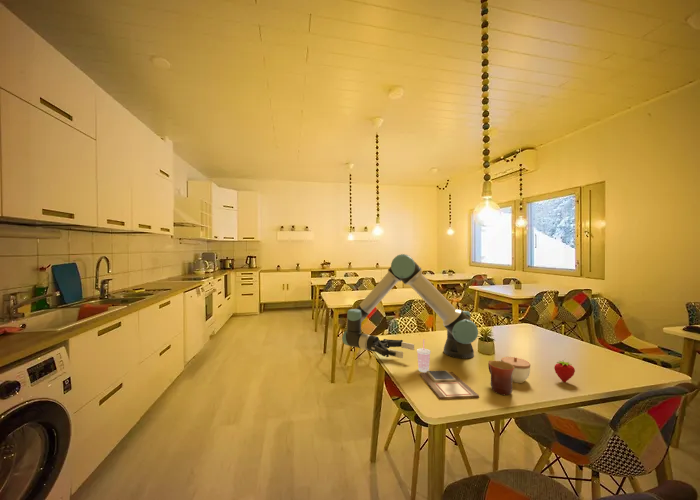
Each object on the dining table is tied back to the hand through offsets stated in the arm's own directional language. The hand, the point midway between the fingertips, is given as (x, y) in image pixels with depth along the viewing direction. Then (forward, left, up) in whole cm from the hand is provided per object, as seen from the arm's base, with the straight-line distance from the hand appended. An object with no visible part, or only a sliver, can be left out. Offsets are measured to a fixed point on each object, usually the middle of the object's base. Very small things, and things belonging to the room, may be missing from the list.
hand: (408, 351), depth 130 cm
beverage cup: (-6, +4, -8) cm, 10 cm away
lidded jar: (-42, +16, -8) cm, 45 cm away
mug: (-29, +24, -8) cm, 38 cm away
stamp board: (-10, +19, -7) cm, 23 cm away
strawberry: (-61, +20, -8) cm, 64 cm away
